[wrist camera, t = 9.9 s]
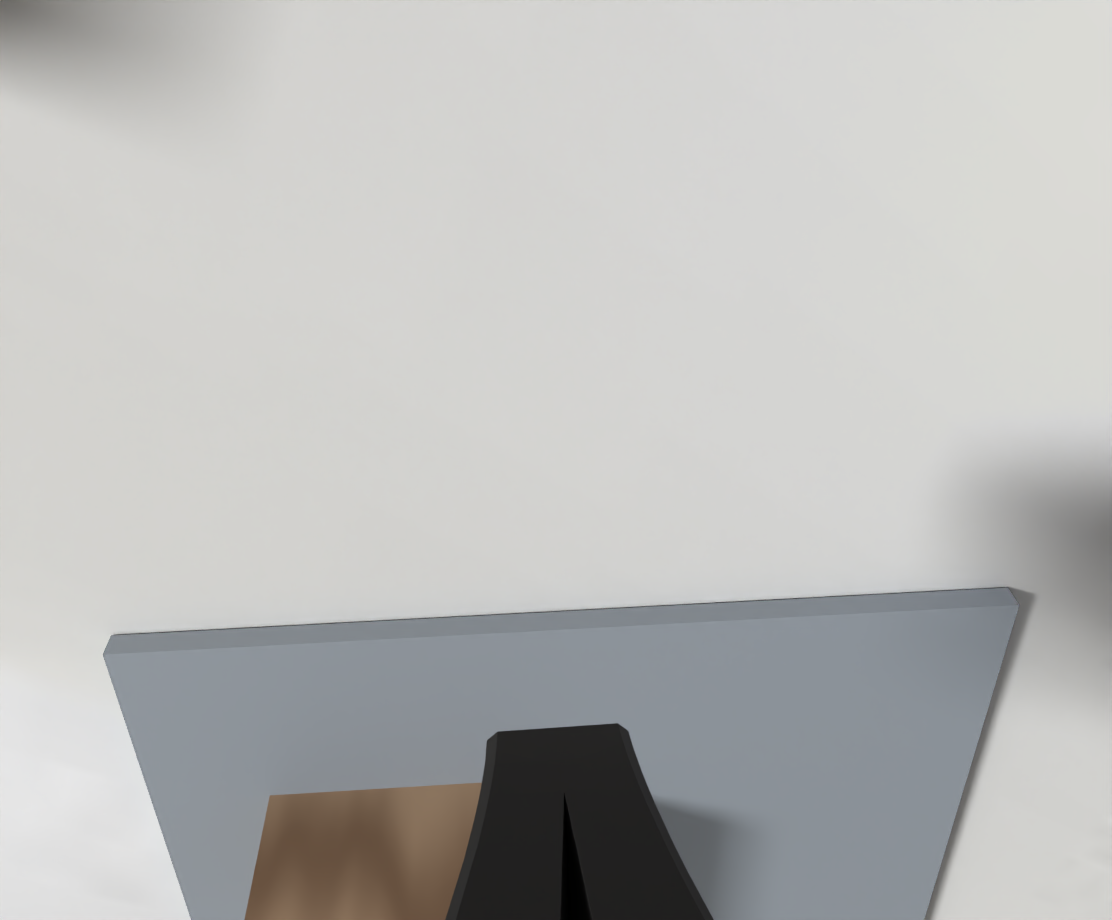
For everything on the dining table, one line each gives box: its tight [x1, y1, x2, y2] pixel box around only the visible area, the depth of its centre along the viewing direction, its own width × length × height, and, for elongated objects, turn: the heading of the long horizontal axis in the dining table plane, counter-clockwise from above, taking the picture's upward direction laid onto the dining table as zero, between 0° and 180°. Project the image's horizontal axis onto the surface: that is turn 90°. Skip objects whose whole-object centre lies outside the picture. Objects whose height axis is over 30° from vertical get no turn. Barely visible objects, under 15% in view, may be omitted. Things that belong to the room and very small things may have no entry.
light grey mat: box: [103, 588, 1019, 920], centre depth 26 cm, size 20×14×1 cm
